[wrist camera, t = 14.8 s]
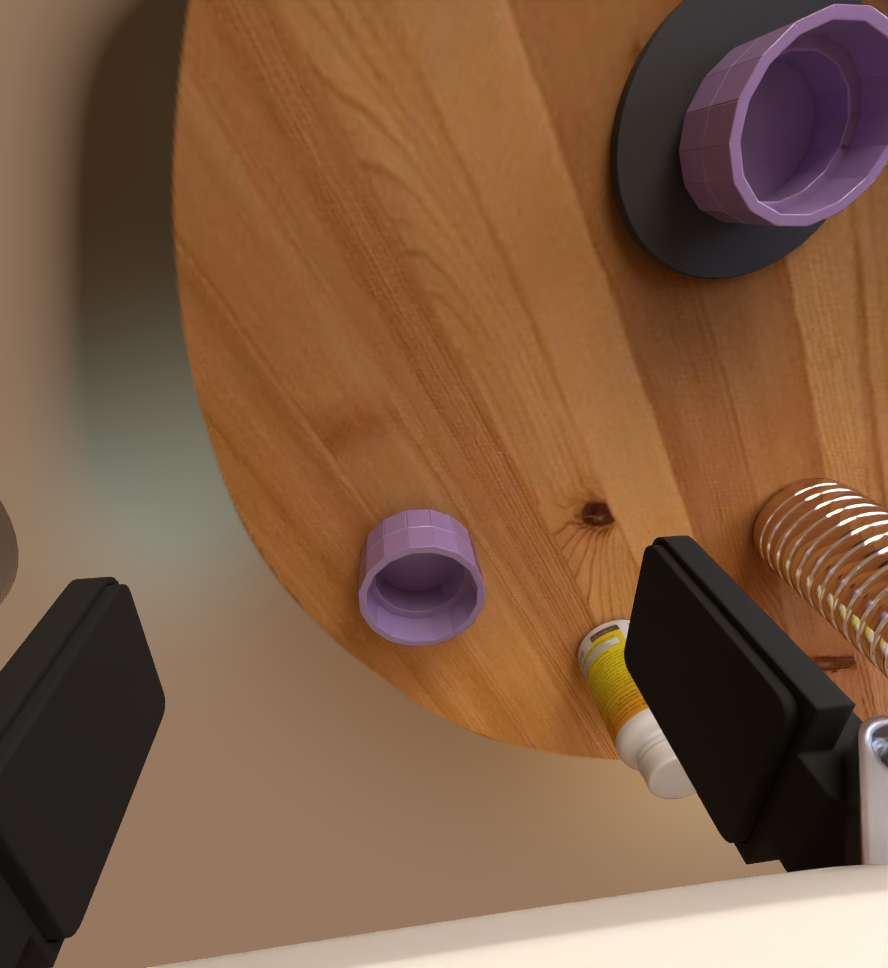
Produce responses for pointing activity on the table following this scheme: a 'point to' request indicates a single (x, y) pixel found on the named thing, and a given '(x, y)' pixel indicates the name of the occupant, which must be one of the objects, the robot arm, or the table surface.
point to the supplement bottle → (629, 712)
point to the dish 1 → (419, 578)
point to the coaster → (657, 134)
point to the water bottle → (832, 557)
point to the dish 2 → (791, 121)
